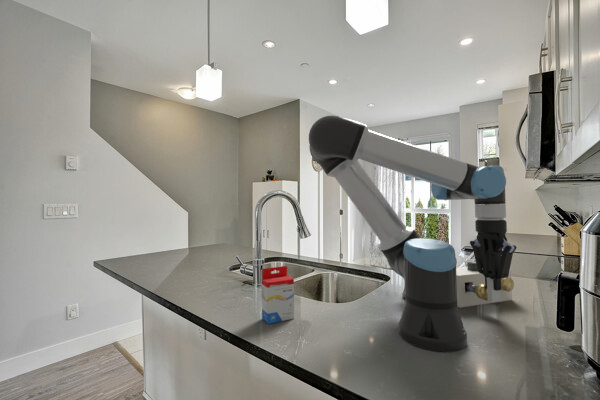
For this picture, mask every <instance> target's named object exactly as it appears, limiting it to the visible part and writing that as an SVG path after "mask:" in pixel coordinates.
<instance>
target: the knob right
mask: <svg viewBox="0 0 600 400" xmlns="http://www.w3.org/2000/svg"><path fill="white" fill-rule="evenodd" d="M514 287H515V282H514V280H513V278H512V277H511V278H508V277H507V278H502V279H501V290H504V291H508V292H510V291H511V290H512V291H513V290H514Z"/></svg>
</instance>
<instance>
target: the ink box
mask: <svg viewBox="0 0 600 400" xmlns="http://www.w3.org/2000/svg"><path fill="white" fill-rule="evenodd" d="M274 271H277V272H274ZM261 272H262V275H261V276H262V277H261V278H262V279H261V318H262V320H264V322H266V324H268V325H269V324H275V323H279V322H283V321H284V322H285V321H288V320H293V319H295V285H294V284H295V282H294V281H295V279H294V278H293V277H292V276H290V275H288V266H287V265H282V266H274V267H267V268H266V267H265V268H263V269H262V271H261ZM271 272H274V273H271Z"/></svg>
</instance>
